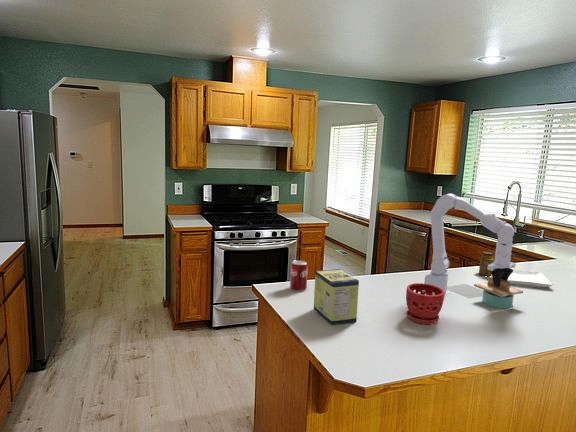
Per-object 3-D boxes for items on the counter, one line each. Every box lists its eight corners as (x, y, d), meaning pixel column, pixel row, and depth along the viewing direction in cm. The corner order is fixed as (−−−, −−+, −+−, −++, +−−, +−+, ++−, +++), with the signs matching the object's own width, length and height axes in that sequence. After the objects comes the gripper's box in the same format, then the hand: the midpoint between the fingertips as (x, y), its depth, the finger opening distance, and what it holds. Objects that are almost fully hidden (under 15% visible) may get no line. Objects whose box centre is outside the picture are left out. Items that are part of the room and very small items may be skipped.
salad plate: (502, 285, 198) (503, 278, 198) (494, 273, 218) (495, 267, 218) (552, 291, 192) (553, 284, 192) (539, 278, 212) (540, 272, 212)
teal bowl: (499, 310, 164) (501, 298, 163) (476, 301, 174) (477, 290, 173) (518, 307, 169) (519, 295, 168) (494, 298, 178) (495, 287, 178)
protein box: (336, 306, 162) (339, 268, 159) (357, 322, 147) (360, 280, 145) (312, 309, 158) (314, 270, 155) (331, 325, 144) (333, 282, 141)
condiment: (494, 275, 214) (497, 253, 212) (488, 278, 208) (490, 255, 206) (480, 272, 219) (482, 250, 217) (473, 275, 213) (476, 252, 211)
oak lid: (501, 296, 162) (503, 286, 161) (473, 286, 173) (475, 276, 173) (522, 293, 168) (524, 282, 167) (494, 282, 179) (496, 273, 178)
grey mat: (469, 299, 176) (469, 298, 176) (442, 288, 189) (442, 287, 189) (493, 295, 182) (493, 294, 182) (465, 284, 196) (465, 283, 196)
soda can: (307, 286, 184) (308, 260, 182) (306, 292, 177) (307, 265, 175) (290, 285, 184) (291, 259, 183) (289, 291, 177) (290, 264, 175)
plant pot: (397, 314, 156) (399, 284, 154) (425, 311, 160) (428, 281, 158) (419, 328, 144) (422, 296, 142) (449, 324, 148) (452, 292, 146)
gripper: (500, 257, 161) (496, 290, 163) (524, 254, 167) (519, 286, 169) (484, 253, 167) (480, 285, 169) (508, 250, 174) (504, 281, 176)
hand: (499, 285), depth 170 cm, fingers closed on oak lid, 3 cm apart
